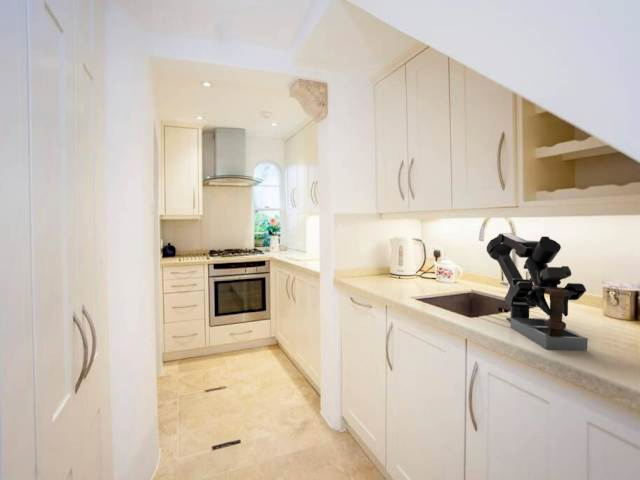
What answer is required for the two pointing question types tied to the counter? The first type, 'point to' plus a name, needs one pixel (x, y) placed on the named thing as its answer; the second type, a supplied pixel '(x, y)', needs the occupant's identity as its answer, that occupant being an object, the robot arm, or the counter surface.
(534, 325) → the grey divided tray
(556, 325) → the bolt
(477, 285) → the counter surface
